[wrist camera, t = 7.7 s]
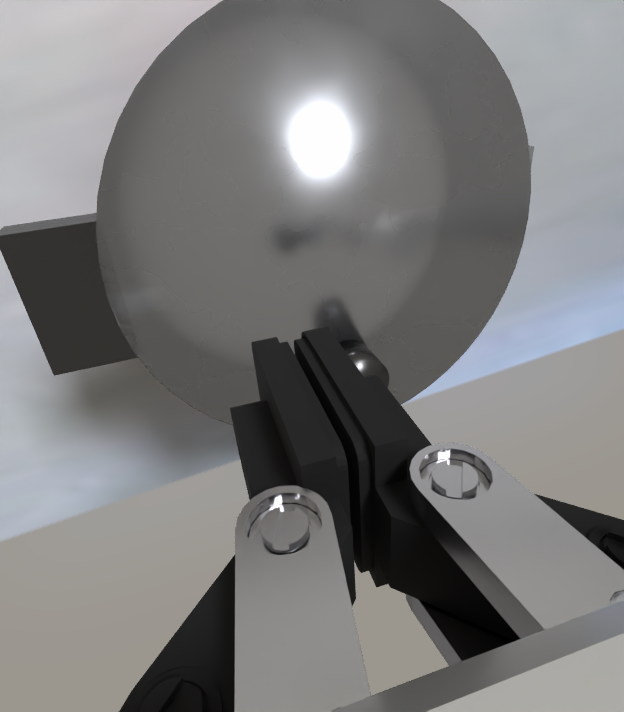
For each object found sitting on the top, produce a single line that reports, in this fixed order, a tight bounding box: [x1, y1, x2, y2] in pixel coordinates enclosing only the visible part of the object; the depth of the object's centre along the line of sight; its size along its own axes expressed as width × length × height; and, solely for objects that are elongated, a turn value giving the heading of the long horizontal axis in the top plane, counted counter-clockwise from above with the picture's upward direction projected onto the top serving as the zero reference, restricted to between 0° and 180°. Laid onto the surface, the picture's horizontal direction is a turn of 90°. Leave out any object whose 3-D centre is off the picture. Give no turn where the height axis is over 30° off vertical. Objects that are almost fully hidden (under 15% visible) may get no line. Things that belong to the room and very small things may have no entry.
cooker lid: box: [0, 0, 531, 425], centre depth 18 cm, size 20×17×3 cm
